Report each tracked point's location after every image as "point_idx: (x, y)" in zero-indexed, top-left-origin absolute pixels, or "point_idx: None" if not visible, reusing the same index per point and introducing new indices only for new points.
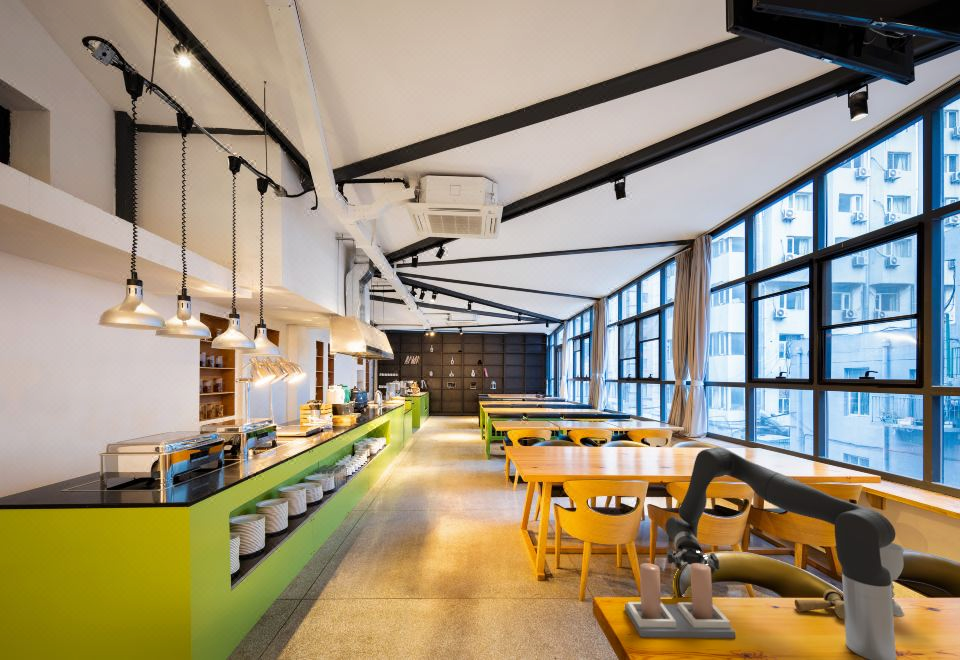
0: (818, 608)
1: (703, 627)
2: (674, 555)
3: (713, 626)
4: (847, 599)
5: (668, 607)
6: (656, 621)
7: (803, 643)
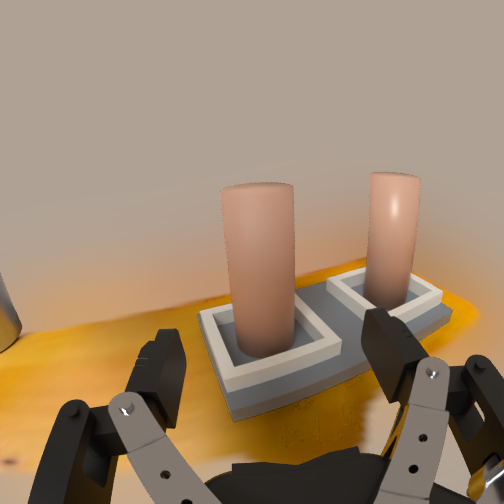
0: None
1: None
2: (448, 371)
3: None
4: None
5: None
6: (361, 268)
7: (70, 340)
